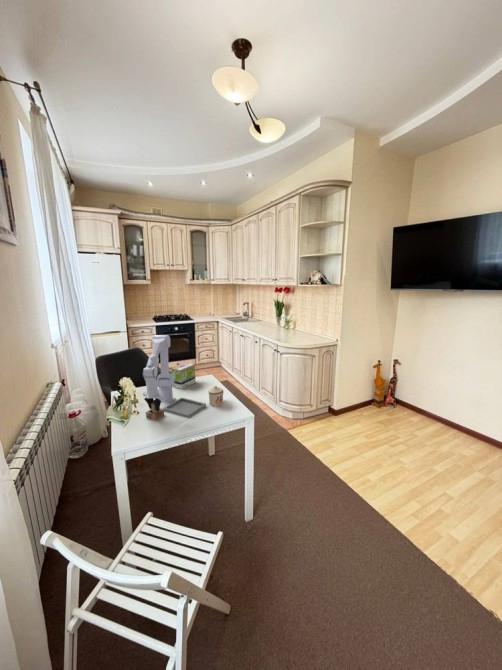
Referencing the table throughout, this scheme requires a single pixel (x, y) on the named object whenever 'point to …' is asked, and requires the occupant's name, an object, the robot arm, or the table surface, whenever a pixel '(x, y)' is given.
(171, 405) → the tray
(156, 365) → the robot arm
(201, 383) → the table surface
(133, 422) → the table surface
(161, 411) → the wooden roll holder
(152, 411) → the dowel
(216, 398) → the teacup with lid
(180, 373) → the tea box
